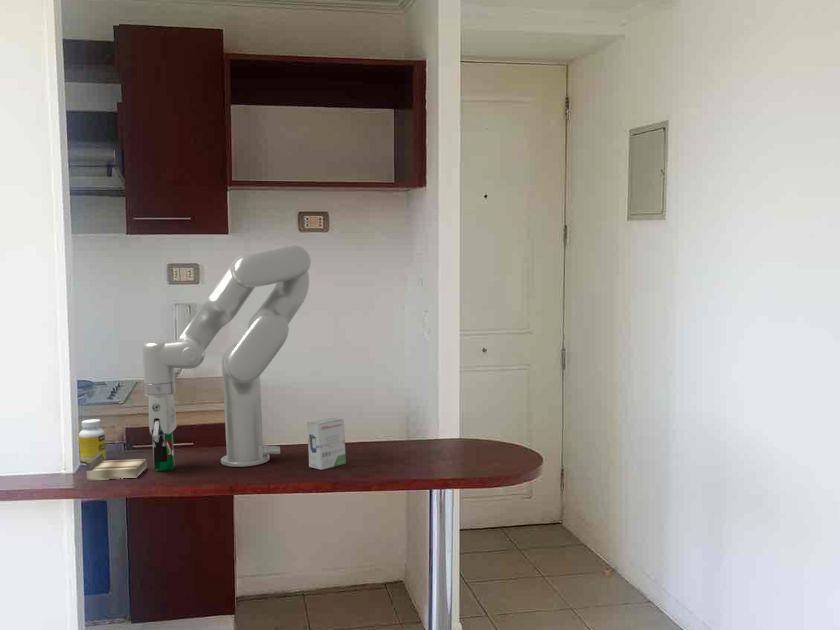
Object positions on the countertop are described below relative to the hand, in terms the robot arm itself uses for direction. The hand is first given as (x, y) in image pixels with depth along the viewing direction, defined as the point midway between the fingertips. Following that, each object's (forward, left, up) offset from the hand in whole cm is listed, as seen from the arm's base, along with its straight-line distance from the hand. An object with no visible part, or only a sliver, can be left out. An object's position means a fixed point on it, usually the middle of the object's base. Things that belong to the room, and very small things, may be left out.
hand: (163, 458), depth 225 cm
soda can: (0, 0, -3) cm, 3 cm away
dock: (+11, +3, -3) cm, 12 cm away
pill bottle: (+21, -10, -3) cm, 23 cm away
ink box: (-42, +3, -3) cm, 42 cm away
